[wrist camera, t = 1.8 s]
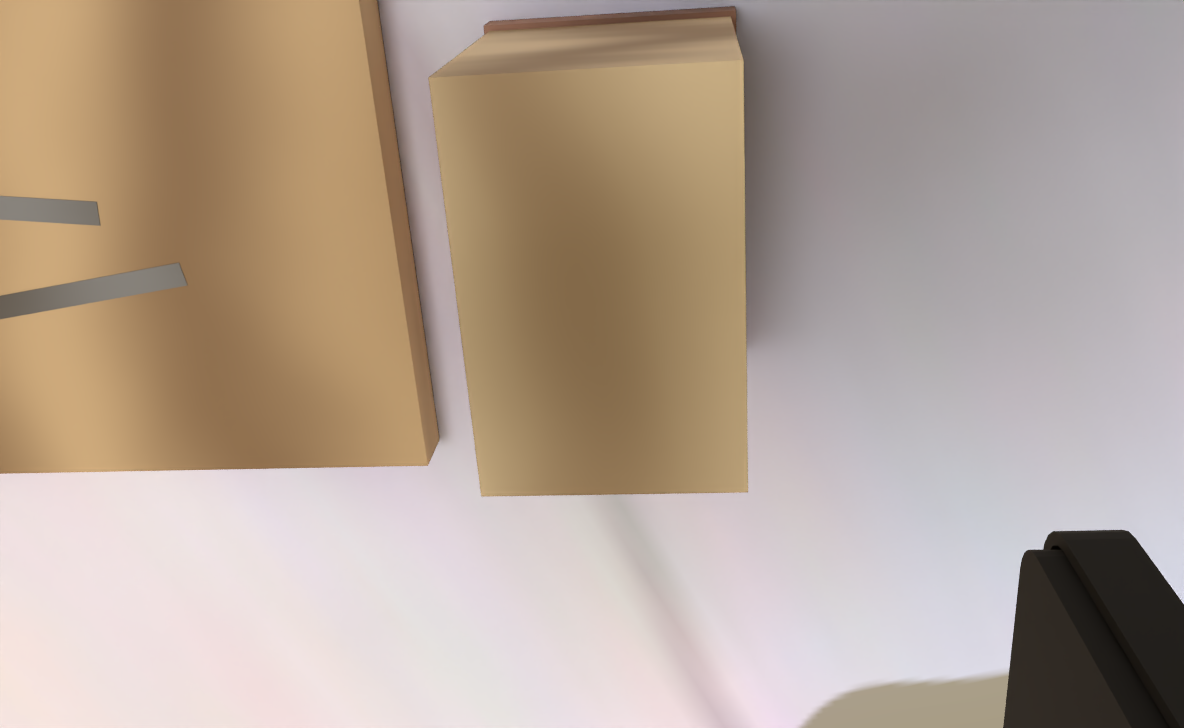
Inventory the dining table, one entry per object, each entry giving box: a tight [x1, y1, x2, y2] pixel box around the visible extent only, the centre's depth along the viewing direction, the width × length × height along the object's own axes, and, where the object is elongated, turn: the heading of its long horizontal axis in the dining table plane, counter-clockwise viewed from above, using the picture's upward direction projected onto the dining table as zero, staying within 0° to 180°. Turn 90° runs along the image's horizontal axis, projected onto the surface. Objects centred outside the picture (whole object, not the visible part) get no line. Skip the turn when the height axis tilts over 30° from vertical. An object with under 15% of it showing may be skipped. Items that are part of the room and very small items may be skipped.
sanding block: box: [429, 6, 748, 496], centre depth 19 cm, size 5×7×6 cm, turn 4°
